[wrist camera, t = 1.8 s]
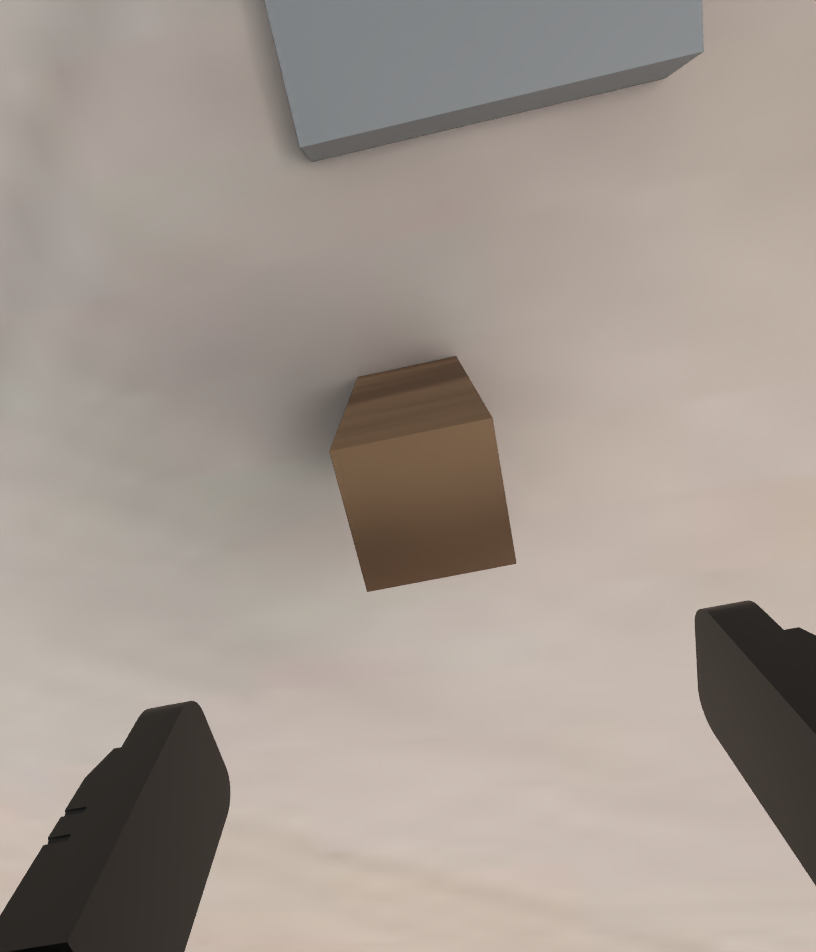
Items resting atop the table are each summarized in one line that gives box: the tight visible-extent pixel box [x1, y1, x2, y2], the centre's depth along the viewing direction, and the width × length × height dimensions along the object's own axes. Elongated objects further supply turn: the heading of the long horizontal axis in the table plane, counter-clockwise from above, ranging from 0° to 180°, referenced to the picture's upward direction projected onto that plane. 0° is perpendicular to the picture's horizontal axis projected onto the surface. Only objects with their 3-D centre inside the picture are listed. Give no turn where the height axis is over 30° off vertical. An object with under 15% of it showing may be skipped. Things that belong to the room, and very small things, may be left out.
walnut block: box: [329, 356, 516, 592], centre depth 22 cm, size 4×4×11 cm
